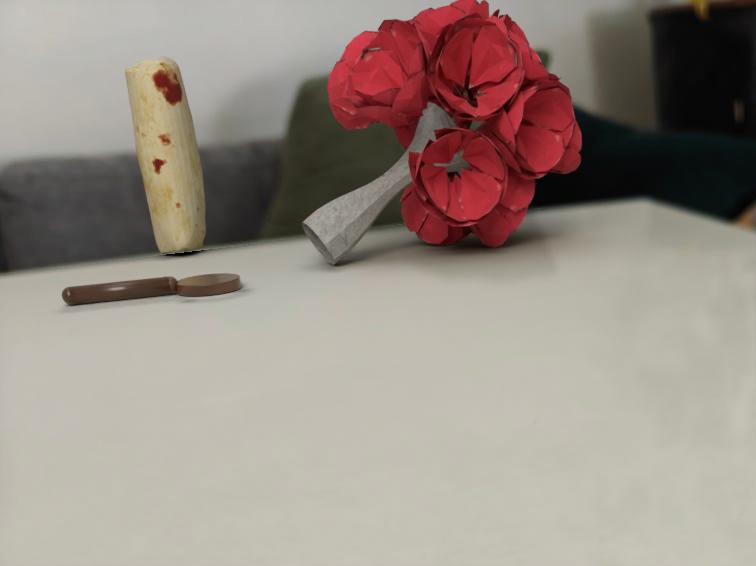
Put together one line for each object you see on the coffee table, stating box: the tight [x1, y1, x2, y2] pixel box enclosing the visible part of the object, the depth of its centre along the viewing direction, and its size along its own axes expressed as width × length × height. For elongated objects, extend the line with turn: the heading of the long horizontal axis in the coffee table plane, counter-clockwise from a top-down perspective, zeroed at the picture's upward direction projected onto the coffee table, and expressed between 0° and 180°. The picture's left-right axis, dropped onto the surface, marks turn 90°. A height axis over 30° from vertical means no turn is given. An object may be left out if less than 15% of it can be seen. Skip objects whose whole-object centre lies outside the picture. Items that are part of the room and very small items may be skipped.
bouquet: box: [301, 0, 583, 266], centre depth 114 cm, size 22×24×30 cm
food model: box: [124, 55, 207, 255], centre depth 125 cm, size 10×7×20 cm
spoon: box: [61, 272, 242, 306], centre depth 105 cm, size 16×6×2 cm, turn 104°
